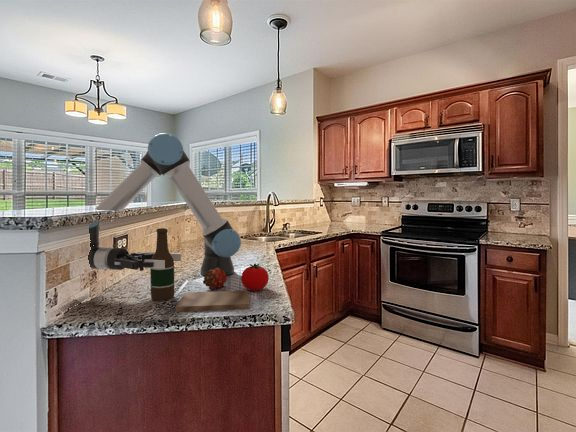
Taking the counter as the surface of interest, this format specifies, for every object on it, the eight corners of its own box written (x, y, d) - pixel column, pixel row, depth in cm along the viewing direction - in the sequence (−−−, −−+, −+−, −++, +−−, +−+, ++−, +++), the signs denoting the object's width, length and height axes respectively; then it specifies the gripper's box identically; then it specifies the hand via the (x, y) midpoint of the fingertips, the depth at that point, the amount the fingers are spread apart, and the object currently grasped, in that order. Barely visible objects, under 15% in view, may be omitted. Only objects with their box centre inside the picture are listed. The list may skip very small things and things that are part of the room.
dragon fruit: (208, 297, 111) (216, 292, 123) (227, 283, 111) (234, 279, 123) (195, 277, 111) (205, 274, 123) (214, 264, 112) (222, 262, 124)
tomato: (235, 291, 112) (235, 265, 112) (250, 284, 122) (250, 260, 121) (260, 295, 108) (260, 268, 108) (273, 288, 118) (273, 262, 117)
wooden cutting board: (176, 311, 92) (176, 306, 92) (184, 296, 106) (184, 292, 106) (248, 308, 96) (248, 303, 96) (247, 294, 109) (247, 290, 109)
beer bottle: (171, 300, 102) (171, 229, 100) (147, 301, 100) (146, 229, 99) (176, 293, 109) (176, 227, 108) (153, 294, 108) (153, 227, 107)
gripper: (133, 262, 118) (187, 264, 116) (87, 278, 94) (154, 280, 92) (132, 243, 117) (187, 244, 115) (87, 254, 94) (154, 256, 92)
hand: (173, 260), depth 104 cm, fingers open, 11 cm apart
